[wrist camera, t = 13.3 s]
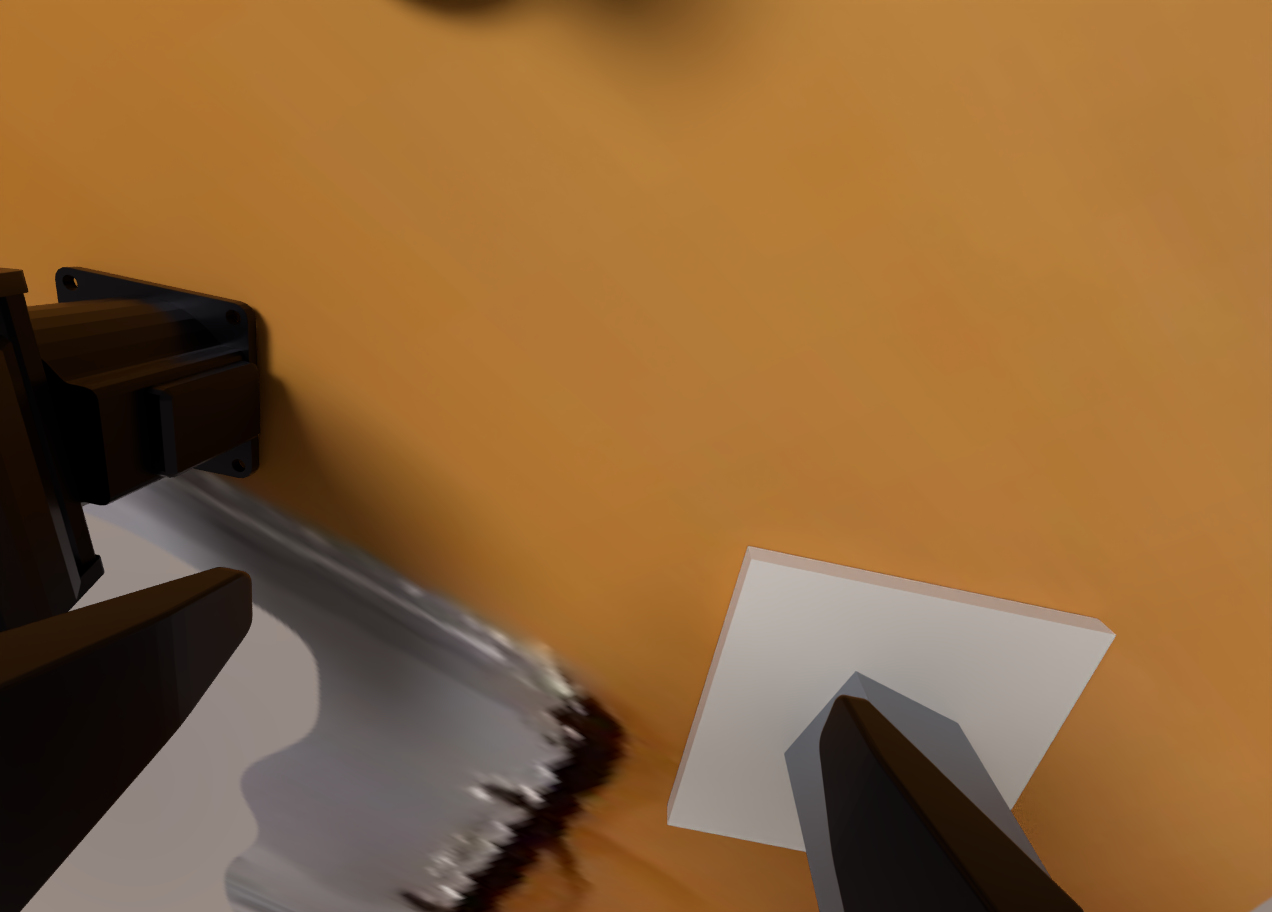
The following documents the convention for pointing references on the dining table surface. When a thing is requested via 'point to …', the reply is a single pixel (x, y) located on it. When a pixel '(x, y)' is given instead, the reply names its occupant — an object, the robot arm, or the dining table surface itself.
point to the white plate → (882, 650)
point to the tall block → (927, 734)
